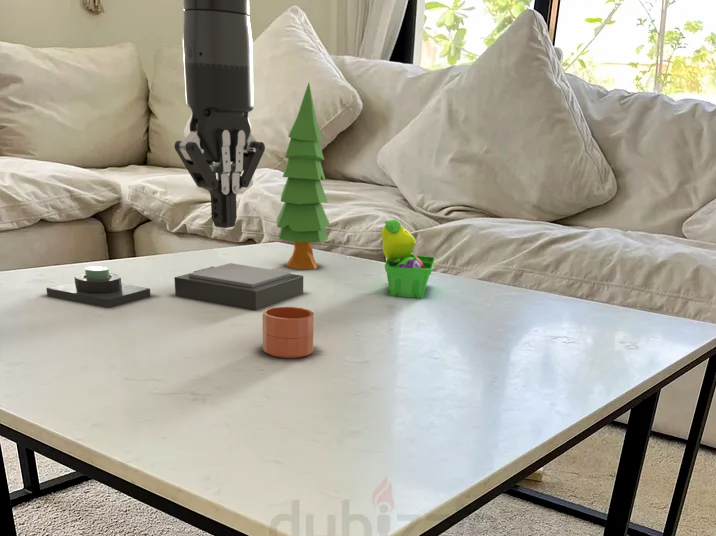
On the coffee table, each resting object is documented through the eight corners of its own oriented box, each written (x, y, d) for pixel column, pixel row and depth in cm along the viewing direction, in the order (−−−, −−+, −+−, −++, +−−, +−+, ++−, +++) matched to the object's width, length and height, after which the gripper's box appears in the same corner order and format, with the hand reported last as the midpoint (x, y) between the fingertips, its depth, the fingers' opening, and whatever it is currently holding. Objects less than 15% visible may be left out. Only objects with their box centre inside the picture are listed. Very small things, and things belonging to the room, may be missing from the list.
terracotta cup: (253, 355, 93) (252, 313, 91) (279, 344, 98) (279, 304, 96) (297, 364, 91) (297, 322, 89) (321, 352, 96) (322, 311, 94)
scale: (175, 297, 116) (173, 273, 115) (228, 282, 128) (227, 260, 126) (255, 312, 112) (255, 287, 110) (303, 295, 123) (303, 272, 122)
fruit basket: (429, 301, 125) (436, 227, 119) (374, 297, 125) (378, 223, 120) (432, 287, 135) (438, 218, 130) (381, 283, 135) (385, 214, 130)
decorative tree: (330, 265, 147) (336, 83, 133) (324, 275, 138) (329, 82, 124) (279, 261, 147) (280, 79, 133) (269, 270, 138) (269, 78, 125)
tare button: (81, 279, 111) (80, 268, 111) (97, 276, 114) (96, 265, 113) (99, 282, 110) (97, 271, 110) (114, 279, 113) (113, 268, 112)
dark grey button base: (47, 297, 111) (44, 276, 110) (92, 287, 119) (89, 267, 117) (108, 309, 108) (106, 287, 106) (150, 298, 115) (149, 277, 114)
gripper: (199, 58, 80) (208, 236, 88) (283, 67, 90) (283, 226, 98) (148, 56, 83) (161, 227, 91) (234, 65, 93) (239, 218, 101)
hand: (224, 226), depth 94 cm, fingers closed
